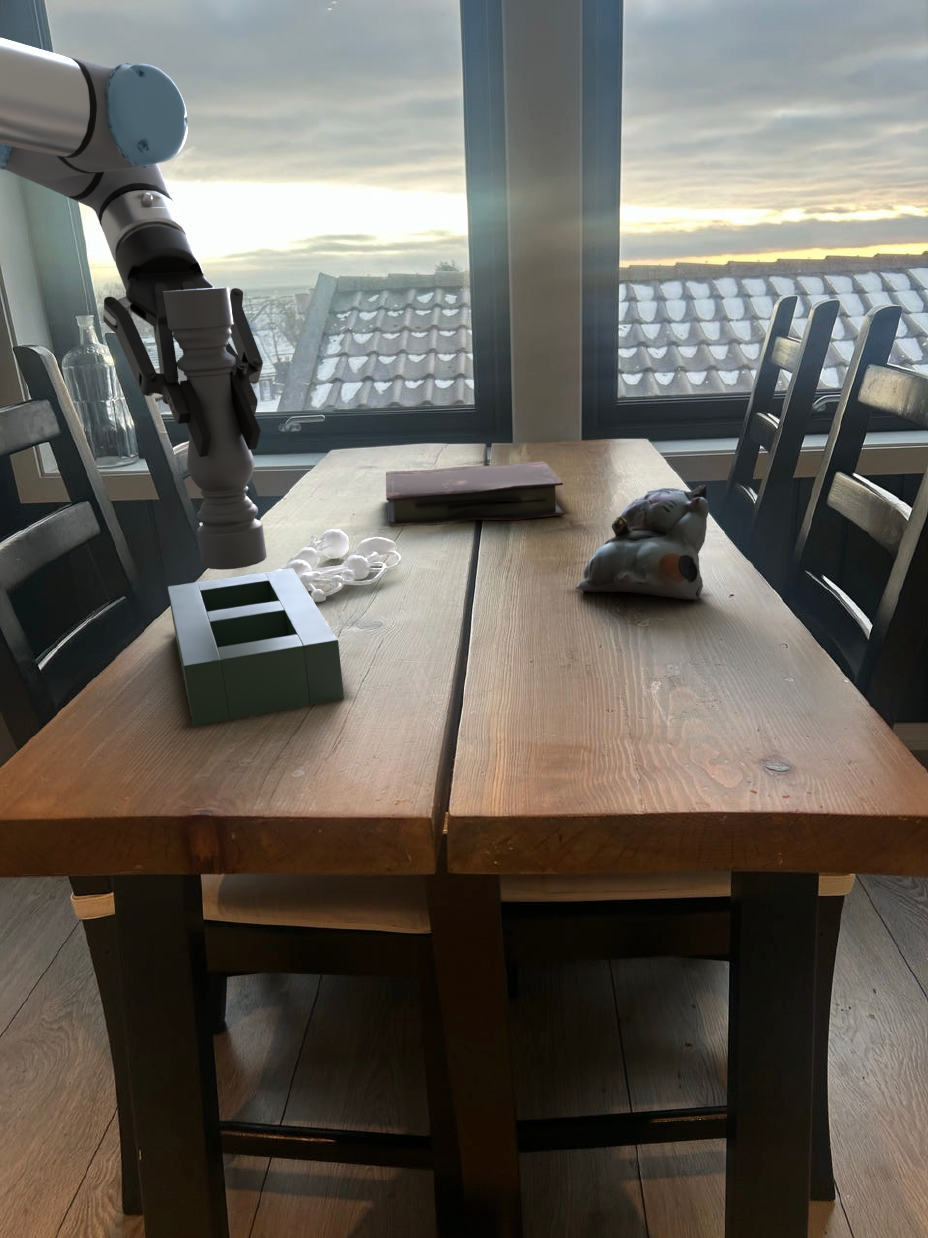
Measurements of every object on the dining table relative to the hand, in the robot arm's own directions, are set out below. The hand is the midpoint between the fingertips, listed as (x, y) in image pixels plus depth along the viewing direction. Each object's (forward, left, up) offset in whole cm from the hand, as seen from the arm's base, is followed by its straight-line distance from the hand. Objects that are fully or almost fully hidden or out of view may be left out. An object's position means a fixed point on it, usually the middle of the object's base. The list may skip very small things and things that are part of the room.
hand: (230, 443), depth 90 cm
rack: (-1, -1, -21) cm, 22 cm away
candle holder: (-1, +4, -12) cm, 13 cm away
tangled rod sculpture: (+12, +22, -22) cm, 33 cm away
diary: (+38, +47, -22) cm, 64 cm away
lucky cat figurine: (+42, +1, -22) cm, 47 cm away
